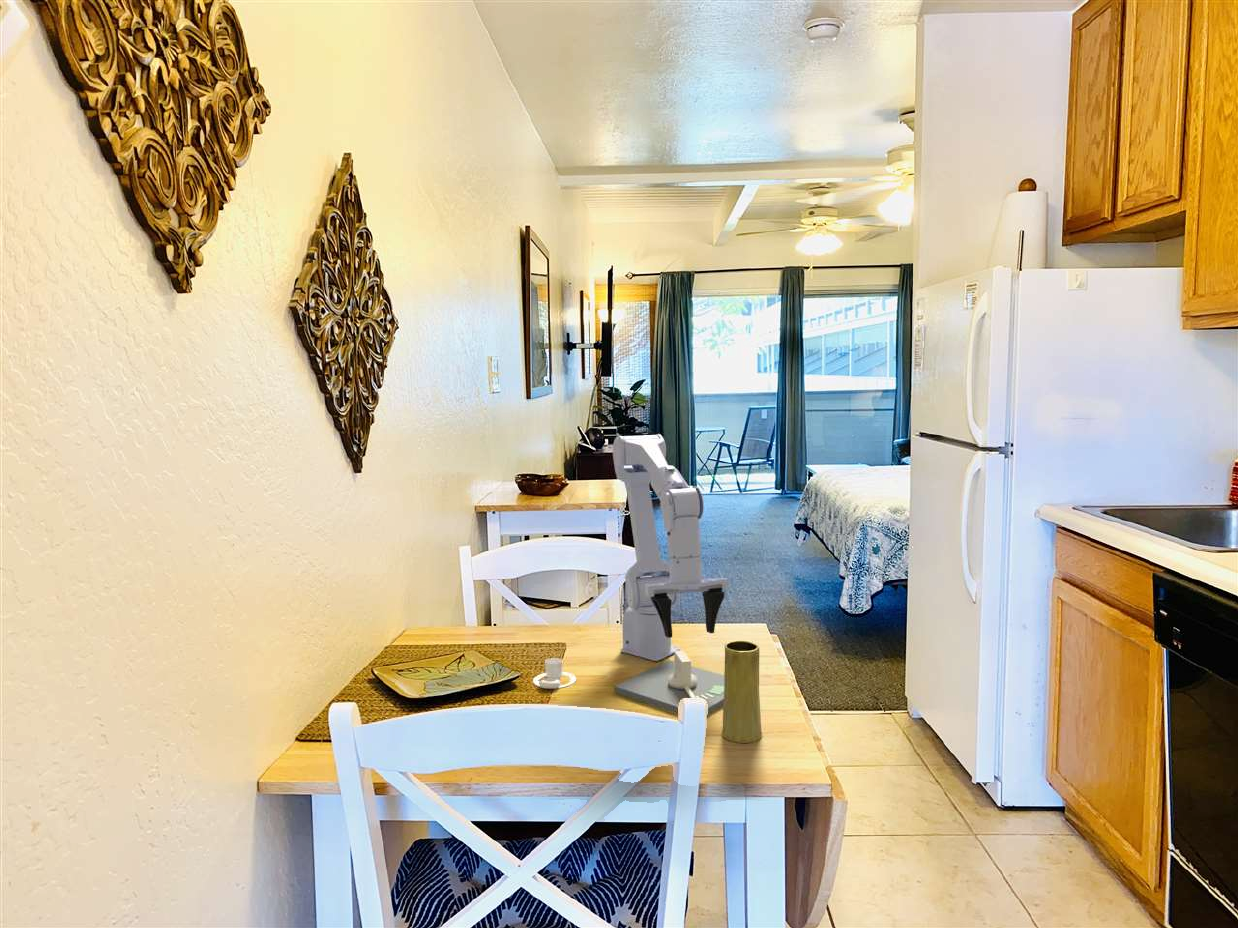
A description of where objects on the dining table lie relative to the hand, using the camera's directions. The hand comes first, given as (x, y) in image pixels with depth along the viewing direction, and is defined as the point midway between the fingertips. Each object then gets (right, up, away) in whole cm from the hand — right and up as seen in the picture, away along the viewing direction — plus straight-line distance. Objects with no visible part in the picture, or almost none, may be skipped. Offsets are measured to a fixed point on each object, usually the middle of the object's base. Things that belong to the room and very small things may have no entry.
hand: (689, 634), depth 139 cm
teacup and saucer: (-27, -11, +6) cm, 30 cm away
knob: (-1, -9, -1) cm, 9 cm away
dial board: (-1, -10, +1) cm, 10 cm away
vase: (+7, -12, -16) cm, 21 cm away
